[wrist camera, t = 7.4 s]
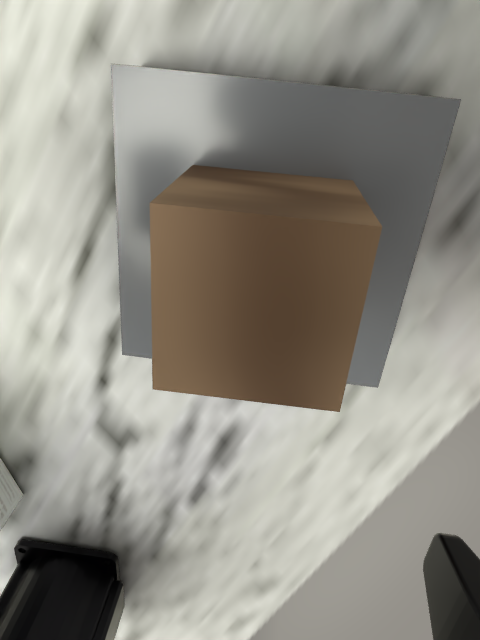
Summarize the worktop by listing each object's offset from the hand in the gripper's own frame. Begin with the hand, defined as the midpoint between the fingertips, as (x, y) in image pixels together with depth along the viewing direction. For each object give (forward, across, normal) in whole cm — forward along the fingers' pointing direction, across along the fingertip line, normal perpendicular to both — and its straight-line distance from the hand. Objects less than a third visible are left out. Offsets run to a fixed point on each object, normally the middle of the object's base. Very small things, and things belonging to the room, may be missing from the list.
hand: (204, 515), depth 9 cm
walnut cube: (+9, 0, -3) cm, 9 cm away
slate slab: (+12, 0, -3) cm, 12 cm away
